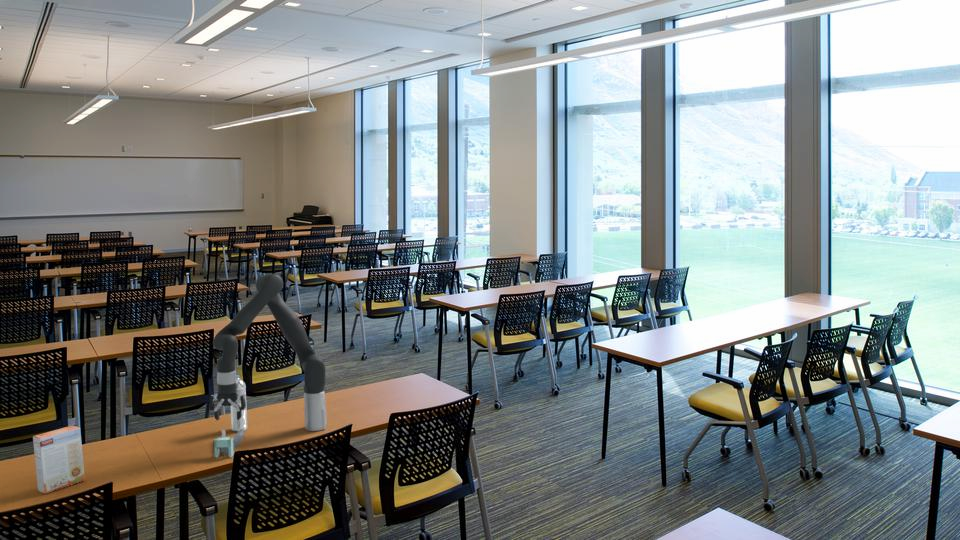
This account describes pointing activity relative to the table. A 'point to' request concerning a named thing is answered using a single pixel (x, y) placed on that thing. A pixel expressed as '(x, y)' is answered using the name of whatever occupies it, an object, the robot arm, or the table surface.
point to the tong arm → (223, 433)
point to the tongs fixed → (234, 442)
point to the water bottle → (243, 420)
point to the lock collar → (223, 445)
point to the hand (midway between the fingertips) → (228, 419)
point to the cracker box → (58, 458)
